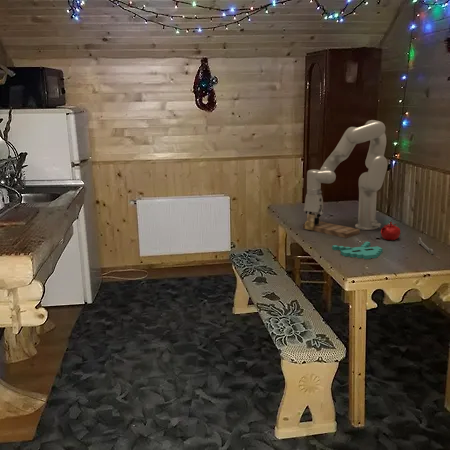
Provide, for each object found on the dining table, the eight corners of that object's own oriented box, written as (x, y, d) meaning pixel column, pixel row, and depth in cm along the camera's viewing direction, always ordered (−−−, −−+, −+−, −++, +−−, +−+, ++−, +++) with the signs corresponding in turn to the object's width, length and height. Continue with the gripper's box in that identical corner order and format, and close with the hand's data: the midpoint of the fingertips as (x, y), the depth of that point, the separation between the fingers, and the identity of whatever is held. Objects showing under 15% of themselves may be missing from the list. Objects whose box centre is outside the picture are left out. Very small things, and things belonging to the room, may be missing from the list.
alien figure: (332, 249, 261) (351, 261, 242) (332, 245, 260) (352, 257, 242) (368, 245, 266) (390, 257, 247) (368, 241, 265) (390, 252, 247)
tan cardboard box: (320, 228, 298) (320, 214, 296) (312, 230, 294) (312, 216, 292) (313, 226, 302) (313, 212, 300) (305, 228, 297) (305, 214, 295)
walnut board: (359, 233, 286) (359, 229, 286) (346, 238, 279) (346, 233, 278) (316, 224, 308) (316, 220, 308) (302, 228, 301) (302, 224, 300)
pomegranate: (402, 238, 277) (403, 221, 275) (396, 242, 269) (398, 224, 267) (383, 235, 282) (385, 218, 280) (377, 239, 274) (378, 222, 272)
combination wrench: (433, 248, 247) (420, 236, 266) (430, 248, 247) (417, 236, 266) (433, 256, 248) (419, 243, 267) (430, 256, 248) (417, 243, 267)
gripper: (330, 192, 289) (329, 224, 294) (306, 189, 301) (306, 220, 306) (321, 194, 284) (320, 227, 289) (297, 191, 297) (297, 222, 301)
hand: (313, 223), depth 297 cm, fingers closed on tan cardboard box, 4 cm apart
